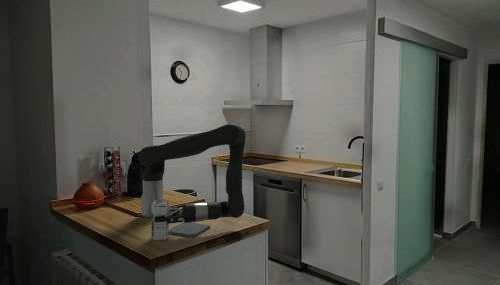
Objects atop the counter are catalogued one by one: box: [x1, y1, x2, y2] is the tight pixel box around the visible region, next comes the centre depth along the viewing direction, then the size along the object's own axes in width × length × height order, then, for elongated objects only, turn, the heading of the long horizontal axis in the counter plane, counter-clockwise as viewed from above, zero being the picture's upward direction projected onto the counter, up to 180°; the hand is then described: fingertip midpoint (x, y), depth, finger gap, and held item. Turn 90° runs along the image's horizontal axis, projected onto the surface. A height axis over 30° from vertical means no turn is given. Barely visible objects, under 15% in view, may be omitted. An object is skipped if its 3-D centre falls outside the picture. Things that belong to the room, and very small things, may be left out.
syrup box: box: [151, 199, 170, 241], centre depth 135 cm, size 6×6×14 cm
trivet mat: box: [168, 221, 211, 239], centre depth 144 cm, size 13×13×1 cm
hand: (153, 216), depth 134 cm, fingers open, 8 cm apart
